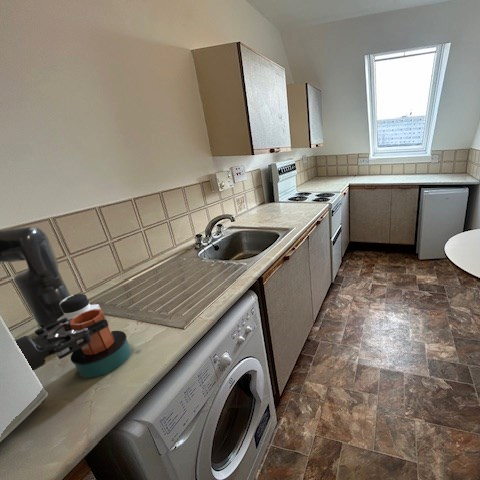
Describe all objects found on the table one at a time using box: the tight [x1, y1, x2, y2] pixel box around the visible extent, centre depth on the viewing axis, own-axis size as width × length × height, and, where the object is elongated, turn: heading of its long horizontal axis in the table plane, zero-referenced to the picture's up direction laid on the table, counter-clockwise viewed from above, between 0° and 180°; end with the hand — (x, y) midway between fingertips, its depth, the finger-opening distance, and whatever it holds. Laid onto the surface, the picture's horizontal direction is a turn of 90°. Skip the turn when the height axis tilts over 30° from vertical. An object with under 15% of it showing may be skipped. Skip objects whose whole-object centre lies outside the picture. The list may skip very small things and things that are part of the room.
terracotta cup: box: [70, 308, 114, 355], centre depth 67 cm, size 6×6×9 cm
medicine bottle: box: [57, 293, 101, 324], centre depth 80 cm, size 7×7×12 cm
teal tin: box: [70, 330, 132, 379], centre depth 69 cm, size 11×11×5 cm
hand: (99, 318), depth 67 cm, fingers closed on terracotta cup, 6 cm apart
